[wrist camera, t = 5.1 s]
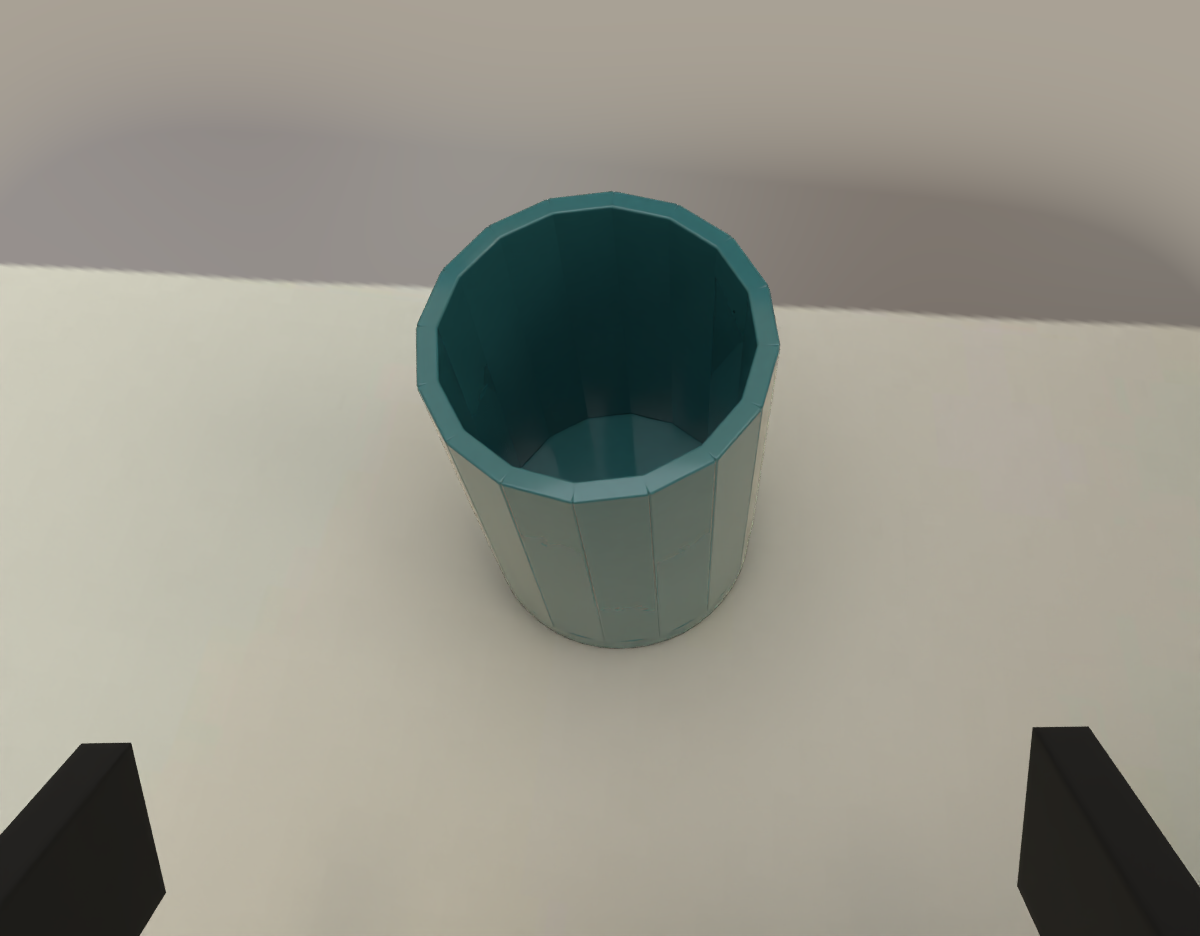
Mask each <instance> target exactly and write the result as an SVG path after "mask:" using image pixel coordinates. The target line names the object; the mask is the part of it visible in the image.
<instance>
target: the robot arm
mask: <svg viewBox="0 0 1200 936" xmlns="http://www.w3.org/2000/svg"><path fill="white" fill-rule="evenodd" d="M1017 887H1018V889H1019V891H1020V893H1021V895H1022V897H1023V900H1024V902H1025V904H1026V906H1027V908H1028V910H1029V913H1030V915H1031V917H1032V919H1033V921H1034V923H1035V926H1036V928H1037V930H1038V932H1039V934H1040V936H1200V887H1199V886H1198V884H1197V883H1196V881H1195V880H1194V878H1193V877H1192V876H1191V874H1190V873H1189V871H1188V870H1187V868H1186V867H1185V865H1184V864H1183V863H1182V861H1181V860H1180V858H1179V857H1178V855H1177V854H1176V852H1175V851H1174V850H1173V848H1172V847H1171V845H1170V844H1169V842H1168V841H1167V839H1166V838H1165V836H1164V835H1163V834H1162V832H1161V831H1160V829H1159V828H1158V826H1157V825H1156V823H1155V822H1154V821H1153V819H1152V818H1151V816H1150V815H1149V813H1148V812H1147V810H1146V809H1145V808H1144V806H1143V805H1142V803H1141V802H1140V800H1139V799H1138V797H1137V796H1136V795H1135V793H1134V792H1133V790H1132V789H1131V787H1130V786H1129V784H1128V783H1127V782H1126V780H1125V779H1124V777H1123V776H1122V774H1121V773H1120V771H1119V770H1118V769H1117V767H1116V766H1115V764H1114V763H1113V761H1112V760H1111V758H1110V757H1109V756H1108V754H1107V753H1106V751H1105V750H1104V748H1103V747H1102V745H1101V744H1100V743H1099V741H1098V740H1097V738H1096V737H1095V735H1094V734H1093V732H1092V731H1091V729H1090V728H1089V727H1033V730H1032V740H1031V750H1030V760H1029V771H1028V781H1027V791H1026V801H1025V811H1024V822H1023V832H1022V842H1021V852H1020V863H1019V873H1018V883H1017ZM165 893H166V890H165V886H164V882H163V878H162V873H161V869H160V865H159V860H158V856H157V852H156V848H155V843H154V839H153V835H152V830H151V826H150V822H149V817H148V813H147V809H146V805H145V800H144V796H143V792H142V787H141V783H140V779H139V775H138V770H137V766H136V762H135V757H134V753H133V749H132V744H131V743H88V744H81V745H80V746H79V747H78V748H77V749H76V750H75V751H74V753H73V754H72V755H71V756H70V757H69V758H68V759H67V760H66V762H65V763H64V764H63V765H62V766H61V767H60V768H59V769H58V771H57V772H56V773H55V774H54V775H53V776H52V777H51V778H50V780H49V781H48V782H47V783H46V784H45V785H44V786H43V787H42V789H41V790H40V791H39V792H38V793H37V794H36V795H35V797H34V798H33V799H32V800H31V801H30V802H29V803H28V804H27V806H26V807H25V808H24V809H23V810H22V811H21V812H20V813H19V815H18V816H17V817H16V818H15V819H14V820H13V821H12V822H11V824H10V825H9V826H8V827H7V828H6V829H5V830H4V831H3V833H2V834H1V835H0V936H140V934H141V932H142V931H143V929H144V927H145V926H146V924H147V923H148V921H149V919H150V918H151V916H152V914H153V913H154V911H155V910H156V908H157V906H158V905H159V903H160V901H161V900H162V898H163V897H164V895H165Z"/></svg>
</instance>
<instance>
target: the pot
mask: <svg viewBox="0 0 1200 936" xmlns="http://www.w3.org/2000/svg"><path fill="white" fill-rule="evenodd" d="M779 352H780V341H779V336H778V331H777V326H776V320H775V315H774V310H773V304H772V299H771V294H770V289H769V287H768V285H767V283H766V282H765V280H764V279H763V278H762V276H761V275H760V273H759V272H758V271H757V269H756V268H755V267H754V265H753V264H752V263H751V261H750V260H749V259H748V257H747V256H746V254H745V253H744V252H743V250H742V249H741V248H740V246H739V245H738V244H737V242H736V241H735V240H734V238H732V237H731V236H730V235H728V234H727V233H725V232H723V231H722V230H720V229H718V228H717V227H715V226H714V225H712V224H710V223H708V222H707V221H705V220H704V219H702V218H700V217H698V216H697V215H695V214H694V213H692V212H690V211H689V210H687V209H685V208H684V207H682V206H680V205H677V204H675V203H670V202H665V201H660V200H655V199H650V198H645V197H640V196H635V195H630V194H625V193H620V192H612V191H609V192H601V193H592V194H583V195H576V196H566V197H558V198H550V199H548V200H544V201H542V202H540V203H537V204H535V205H533V206H531V207H529V208H526V209H524V210H522V211H520V212H518V213H515V214H513V215H511V216H509V217H507V218H504V219H502V220H500V221H498V222H496V223H493V224H491V225H489V227H486V228H485V229H484V230H483V231H482V232H481V233H480V234H479V235H478V236H477V237H476V238H475V239H474V240H473V241H472V242H471V243H469V245H467V246H466V247H465V248H464V249H463V250H462V251H461V252H460V253H459V254H458V255H457V256H456V257H455V258H454V259H453V260H452V261H451V262H450V263H449V264H448V265H446V267H444V269H443V271H441V273H440V275H439V277H438V279H437V282H436V284H435V286H434V288H433V290H432V293H431V295H430V297H429V299H428V301H427V304H426V306H425V308H424V310H423V312H422V315H421V317H420V319H419V321H418V323H417V328H416V374H417V387H418V391H419V394H420V396H421V398H422V400H423V402H424V404H425V407H426V409H427V411H428V413H429V415H430V418H431V420H432V422H433V424H434V426H435V428H436V431H437V433H438V435H439V437H440V439H441V442H442V444H443V446H444V448H445V450H446V452H447V455H448V457H449V459H450V461H451V463H452V466H453V468H454V470H455V472H456V474H457V476H458V479H459V481H460V483H461V485H462V487H463V490H464V492H465V494H466V496H467V498H468V500H469V503H470V505H471V507H472V509H473V511H474V514H475V516H476V518H477V520H478V522H479V524H480V527H481V529H482V531H483V533H484V535H485V538H486V540H487V542H488V544H489V546H490V548H491V551H492V553H493V555H494V557H495V559H496V561H497V563H498V565H499V567H500V569H501V571H502V573H503V575H504V577H505V579H506V581H507V583H508V585H509V587H510V588H511V590H512V592H513V594H514V595H515V596H516V598H517V599H518V600H519V601H520V603H521V604H522V605H523V606H524V608H525V609H526V610H527V611H528V612H529V613H531V614H532V615H533V616H534V617H535V618H536V619H537V620H538V621H540V622H541V623H542V624H544V625H545V626H547V627H548V628H550V629H551V630H553V631H555V632H557V633H559V634H561V635H563V636H564V637H567V638H569V639H572V640H575V641H578V642H580V643H584V644H588V645H593V646H597V647H606V648H635V647H641V646H647V645H652V644H655V643H658V642H662V641H665V640H668V639H670V638H673V637H675V636H677V635H679V634H681V633H684V632H685V631H687V630H688V629H690V628H692V627H693V626H695V625H697V624H698V623H699V622H701V621H702V620H703V619H704V618H706V617H707V616H708V615H709V614H710V613H712V612H713V610H714V609H715V608H716V607H717V606H718V605H719V604H720V603H721V602H722V601H723V600H724V598H725V597H726V595H727V594H728V592H729V591H730V590H731V588H732V587H733V585H734V583H735V581H736V579H737V577H738V575H739V573H740V571H741V568H742V565H743V562H744V559H745V556H746V551H747V546H748V541H749V537H750V534H751V530H752V526H753V520H754V514H755V507H756V501H757V494H758V488H759V481H760V475H761V468H762V462H763V455H764V449H765V442H766V436H767V430H768V423H769V417H770V410H771V404H772V397H773V391H774V384H775V378H776V371H777V365H778V358H779Z"/></svg>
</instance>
